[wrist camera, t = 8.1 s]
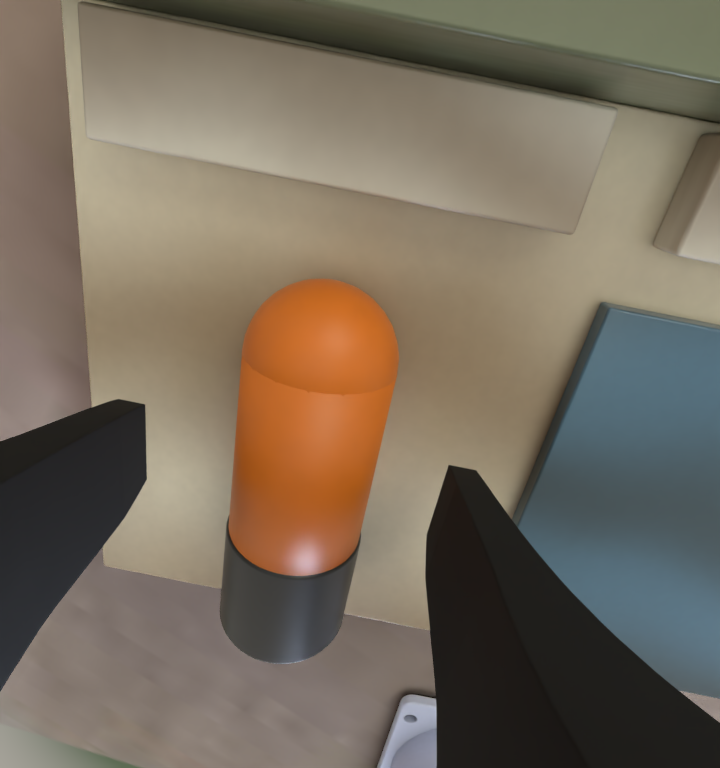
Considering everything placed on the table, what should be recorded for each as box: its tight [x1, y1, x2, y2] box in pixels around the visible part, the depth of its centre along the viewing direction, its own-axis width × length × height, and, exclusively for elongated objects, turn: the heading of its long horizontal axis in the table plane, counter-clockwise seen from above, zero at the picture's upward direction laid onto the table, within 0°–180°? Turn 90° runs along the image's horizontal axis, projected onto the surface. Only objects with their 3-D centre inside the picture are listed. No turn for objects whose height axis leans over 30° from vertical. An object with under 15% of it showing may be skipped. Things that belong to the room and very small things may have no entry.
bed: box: [61, 0, 720, 699], centre depth 11 cm, size 15×22×5 cm
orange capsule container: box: [220, 279, 399, 664], centre depth 11 cm, size 9×3×3 cm, turn 170°
